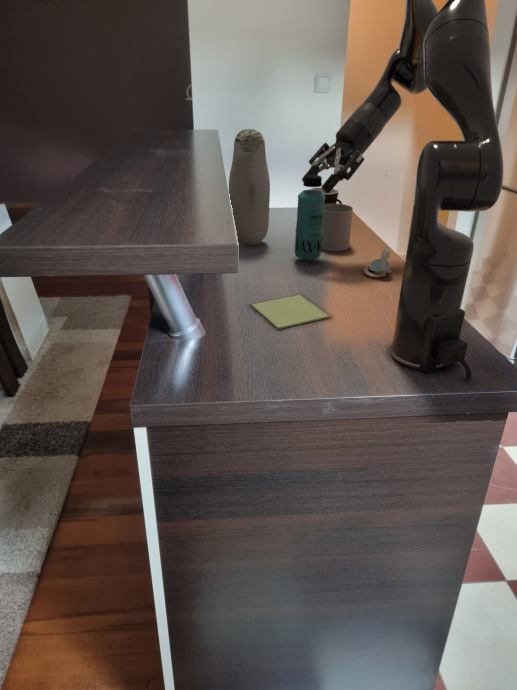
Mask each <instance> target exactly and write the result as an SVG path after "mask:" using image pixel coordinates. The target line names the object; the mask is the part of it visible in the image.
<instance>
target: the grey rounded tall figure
mask: <svg viewBox="0 0 517 690" xmlns="http://www.w3.org/2000/svg"><path fill="white" fill-rule="evenodd" d="M269 173H270V172H269V167H268V162H267V154H266V142H265V138H264V135H263V134H262V133H261V132H260V131H259V130H256V129H252V128H245V129H242V130H240V131H239V132H238V133H237V134H236V135H235V138H234V141H233V153H232V161H231V167H230V170H229V176H228V195H229V194H230V200H231V205H232V208H233V215H234V220H235V225H236V230H237V236H238V241H239V242H238V241H237V242H238V243H240V244H242V245H244V246H254V245H258V244H260V243H261V242H262V241H263V240H264V239H265V238H266V236H267V235H268V231H269V224H270V201H271V200H270V199H271V198H270V197H271V181H270V180H271V179H270V174H269Z"/></svg>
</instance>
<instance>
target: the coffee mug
mask: <svg viewBox="0 0 517 690" xmlns="http://www.w3.org/2000/svg"><path fill="white" fill-rule="evenodd" d="M308 190H319V191H321V192H322V193H323V194H324V195H325V204H343V202H342V200H340V199H338V198H339V196H338V195H339V190H338V189H336V188H333V189H332V190H331V191H330V192H329V193H326V192H325V191H324V190H323V189H322V187H310V188H309V189H308ZM337 202H338V203H337Z"/></svg>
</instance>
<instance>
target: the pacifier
mask: <svg viewBox="0 0 517 690" xmlns="http://www.w3.org/2000/svg"><path fill="white" fill-rule="evenodd" d="M390 255H391V251H390V249H389V247H387V246H385V247H384V248H383V250H382V252H381V255H380V258H377V259H374V260H372V261H371V262H370V264H369V266H366V267H365V268H364V270H363V272H364V274H365V275H366V276H368V277H371V278H381V277H385V276H386V275H387V274H390V273H393V270H390V269H391V264H390V262H388V261H387V260H388V259H389V258H390ZM370 271H372V272H374V273H372V272H370Z"/></svg>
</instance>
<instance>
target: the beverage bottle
mask: <svg viewBox="0 0 517 690" xmlns="http://www.w3.org/2000/svg"><path fill="white" fill-rule="evenodd" d="M303 177H304V176H303ZM322 179H323V178H322V176H321V175H319V174H318V175H306V176H305V177H304V182H303V181H302V182H303V183H302V185H303V186H304V187H305V188H321V187H322V185H323V180H322ZM324 204H325V195H324V194H323V193H322V192H321V191H319V190H309V189H303V190H302V191H301V192H300V193H299V194H298V196H297V209H296V210H297V212H296V223H295V225H296V226H295V237H294V239H295V241H294V249H293V251H294V256H295V257H296V258H298V259H302V260H317V259H319V258H320V257H321V254H322V250H323V249H321V248H322V239H323V238H322V231H323V222H324V221H323V218H324Z"/></svg>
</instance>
